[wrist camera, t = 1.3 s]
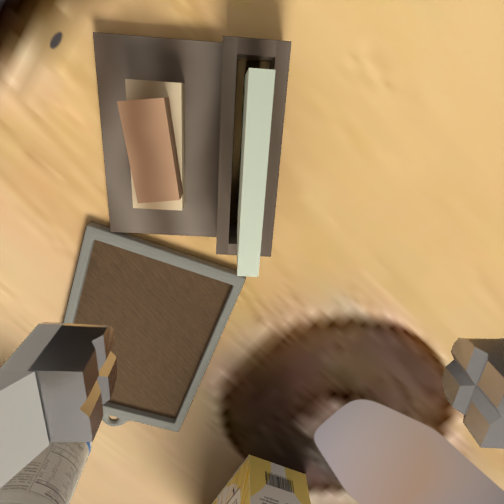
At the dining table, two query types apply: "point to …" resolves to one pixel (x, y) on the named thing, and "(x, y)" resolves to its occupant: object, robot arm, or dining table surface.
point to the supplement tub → (48, 475)
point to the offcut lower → (177, 105)
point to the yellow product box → (264, 485)
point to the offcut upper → (151, 149)
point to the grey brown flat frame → (152, 320)
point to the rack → (189, 129)
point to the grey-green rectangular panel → (253, 167)
